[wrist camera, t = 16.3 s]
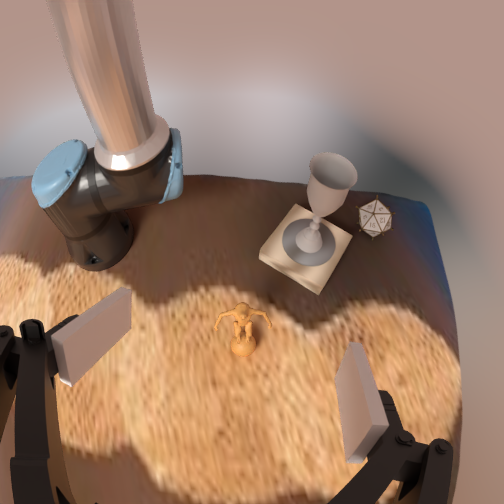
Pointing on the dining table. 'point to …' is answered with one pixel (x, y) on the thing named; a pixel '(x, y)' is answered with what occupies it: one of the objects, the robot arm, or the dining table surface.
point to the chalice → (325, 194)
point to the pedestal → (297, 261)
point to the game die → (375, 218)
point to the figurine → (241, 341)
